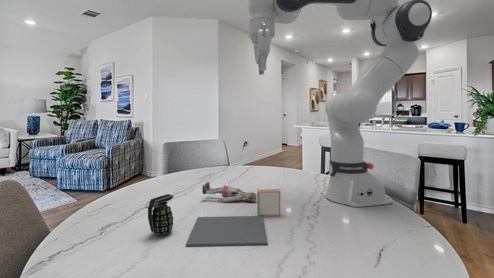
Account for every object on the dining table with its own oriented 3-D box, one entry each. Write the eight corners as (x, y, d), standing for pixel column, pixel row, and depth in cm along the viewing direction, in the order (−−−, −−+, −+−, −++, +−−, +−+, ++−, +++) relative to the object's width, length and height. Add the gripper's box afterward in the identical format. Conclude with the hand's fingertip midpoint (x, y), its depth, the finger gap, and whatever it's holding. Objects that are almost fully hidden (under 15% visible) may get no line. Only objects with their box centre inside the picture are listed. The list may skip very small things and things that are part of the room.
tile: (279, 213, 80) (279, 189, 80) (280, 216, 78) (280, 191, 77) (257, 213, 80) (257, 189, 79) (257, 217, 78) (257, 192, 77)
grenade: (166, 226, 72) (165, 192, 71) (178, 232, 69) (177, 196, 68) (145, 235, 67) (143, 199, 66) (157, 241, 64) (154, 203, 63)
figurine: (207, 180, 97) (258, 187, 93) (206, 194, 98) (256, 202, 94) (201, 184, 91) (255, 193, 87) (200, 199, 92) (254, 208, 88)
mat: (262, 217, 77) (262, 215, 77) (267, 245, 61) (267, 242, 61) (197, 218, 77) (197, 217, 77) (185, 246, 61) (185, 244, 61)
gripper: (274, 20, 76) (274, 67, 77) (268, 39, 96) (268, 76, 97) (253, 20, 76) (254, 67, 77) (251, 40, 96) (252, 76, 97)
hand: (262, 72), depth 87 cm, fingers open, 8 cm apart
